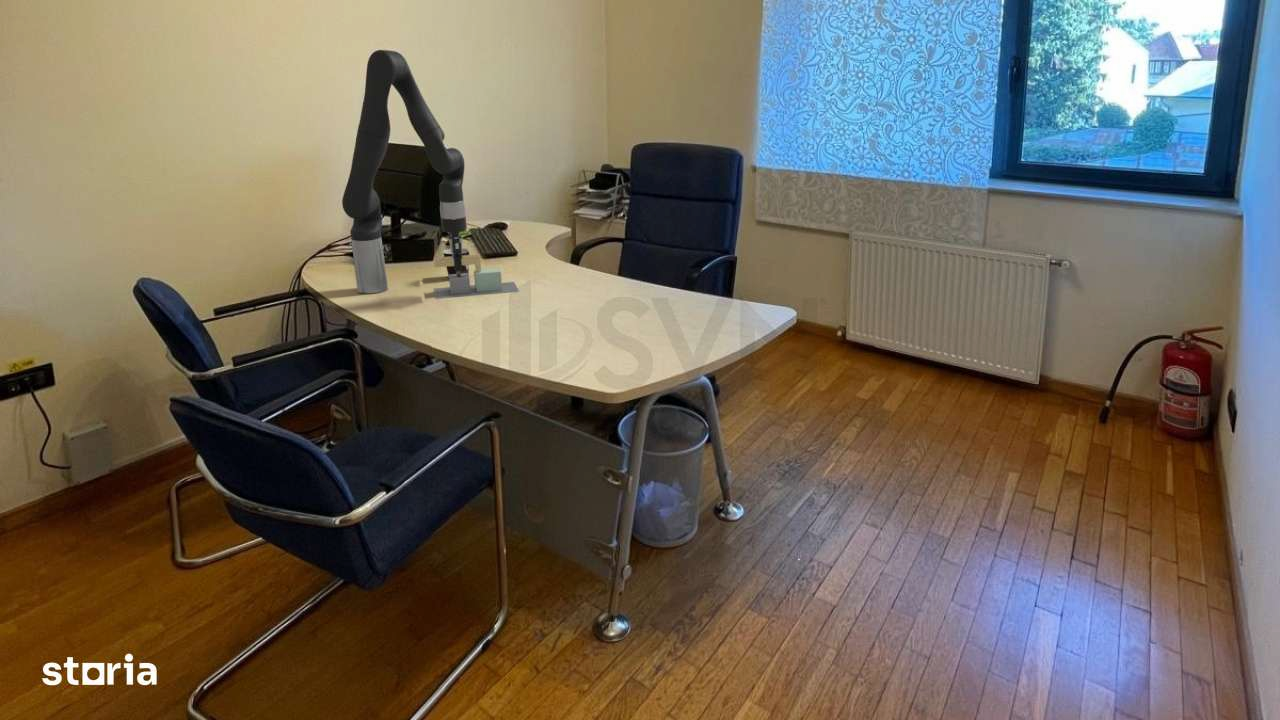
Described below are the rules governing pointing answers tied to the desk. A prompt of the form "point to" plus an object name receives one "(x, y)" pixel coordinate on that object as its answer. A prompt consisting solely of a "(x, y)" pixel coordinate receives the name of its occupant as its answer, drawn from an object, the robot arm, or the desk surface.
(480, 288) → the mint green block
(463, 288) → the base board
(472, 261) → the t key
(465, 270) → the coffee mug
